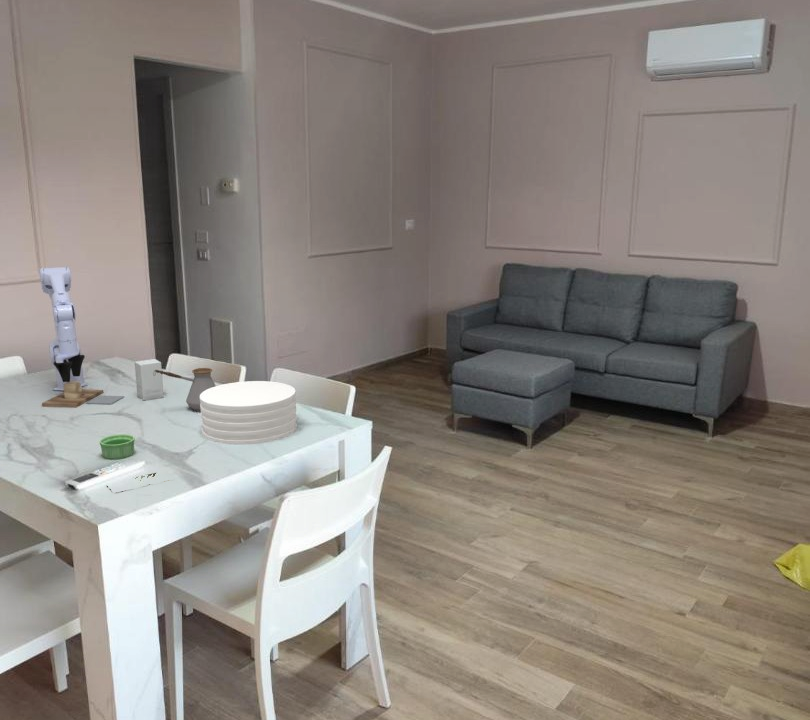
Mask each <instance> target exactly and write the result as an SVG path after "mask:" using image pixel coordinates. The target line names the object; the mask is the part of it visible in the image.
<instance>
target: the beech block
mask: <svg viewBox="0 0 810 720" xmlns="http://www.w3.org/2000/svg"><path fill="white" fill-rule="evenodd" d="M63 387H64V391H63V393H64V395H65V398H70V399H77V398H79V397H81V396H82V390H81V389H82V387H81V382H75V381H70V382H67V383H65V384H63Z"/></svg>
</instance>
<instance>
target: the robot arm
mask: <svg viewBox="0 0 810 720" xmlns="http://www.w3.org/2000/svg"><path fill="white" fill-rule="evenodd" d="M39 280H40V284H41V289H42V292H43V293H45V294H47V295H49V298H50V300H51V308H52V314H53V322H54V331H55V336H56V337H55V338H54V339H53V340H52V341H51V342H50V343H49V358H50V364H52V365H53V366H54V368H55V373H56V381H57V382H56V384H57V387H55V388H53V389H52V391H63V392H64V387H63V384H65V383H67V382H70V381H75V382H81V388H82V387H85V386H86V385H88V384H87V383H86V382H85V376H84V368H83V366H82V364H83V363H84V360H85V358H86V357H85V356H86V355H84V354H82V347H81V348H80V345H79V344H80V343H79V341H78V340H77V331H76V317H77V315H76V308H75V305H74V304H73V302H72V300H71V295H70V293H69V292H70V291H71V288H72V275H71V270H70V268H69V266H64V267H63V266H62V267H61V266H59V267H41V268H39Z"/></svg>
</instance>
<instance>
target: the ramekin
mask: <svg viewBox="0 0 810 720" xmlns="http://www.w3.org/2000/svg"><path fill="white" fill-rule="evenodd" d="M135 441H136V439H135V436H134V435H131V434H112V435H108V436H105V437H103V438H101V439H100V440H99V445H100V448H101V454H102V457H103V458H104V459H107V460H120V459H125V458H129V457H131V456H132V455H133V454H134V453H135Z"/></svg>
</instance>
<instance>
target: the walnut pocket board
mask: <svg viewBox="0 0 810 720" xmlns="http://www.w3.org/2000/svg"><path fill="white" fill-rule="evenodd" d="M81 390H82V396H81V397H79V398H77V399H70V398H65V395H64V392H62V393H59V394H58V395H56V396H53V397H52V398H49V399H47V400H46V401H43V402H41V407H42V406H43V407H46V408H48V407H49V408H78V407H80V406H82V405H84V404H86V402H88V401H90V400H92V399H94V398H96V397H98V396H102V395H103V394H104V389H91V388H90V389H86V388H84V389H83V388H81ZM43 407H42V408H43Z"/></svg>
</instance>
